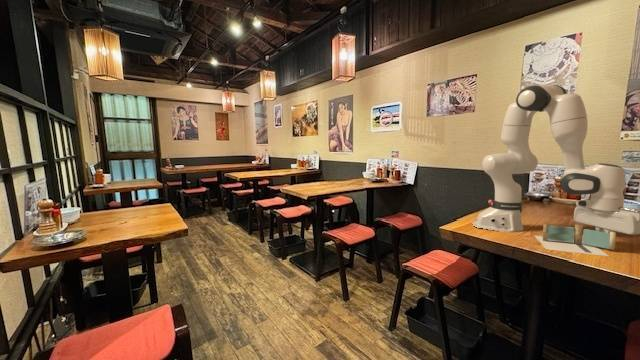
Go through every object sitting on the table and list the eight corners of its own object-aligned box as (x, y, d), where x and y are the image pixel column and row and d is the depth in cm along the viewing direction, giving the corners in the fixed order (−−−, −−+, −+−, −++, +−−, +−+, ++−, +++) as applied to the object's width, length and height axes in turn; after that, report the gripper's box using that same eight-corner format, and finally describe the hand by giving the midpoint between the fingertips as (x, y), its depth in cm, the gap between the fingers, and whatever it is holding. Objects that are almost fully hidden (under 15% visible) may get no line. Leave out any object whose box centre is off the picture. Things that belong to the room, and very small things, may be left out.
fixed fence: (543, 241, 112) (544, 223, 111) (541, 239, 114) (542, 222, 114) (582, 245, 106) (584, 226, 106) (580, 243, 108) (581, 224, 108)
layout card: (546, 250, 104) (546, 249, 104) (533, 236, 120) (534, 235, 120) (609, 257, 95) (609, 256, 95) (586, 241, 112) (586, 240, 112)
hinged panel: (582, 243, 106) (583, 227, 105) (583, 242, 107) (585, 226, 106) (613, 250, 98) (615, 232, 98) (615, 249, 99) (616, 232, 99)
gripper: (649, 209, 91) (645, 247, 93) (584, 199, 112) (582, 231, 113) (633, 210, 91) (630, 248, 92) (571, 200, 111) (569, 231, 112)
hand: (603, 238), depth 103 cm, fingers closed
